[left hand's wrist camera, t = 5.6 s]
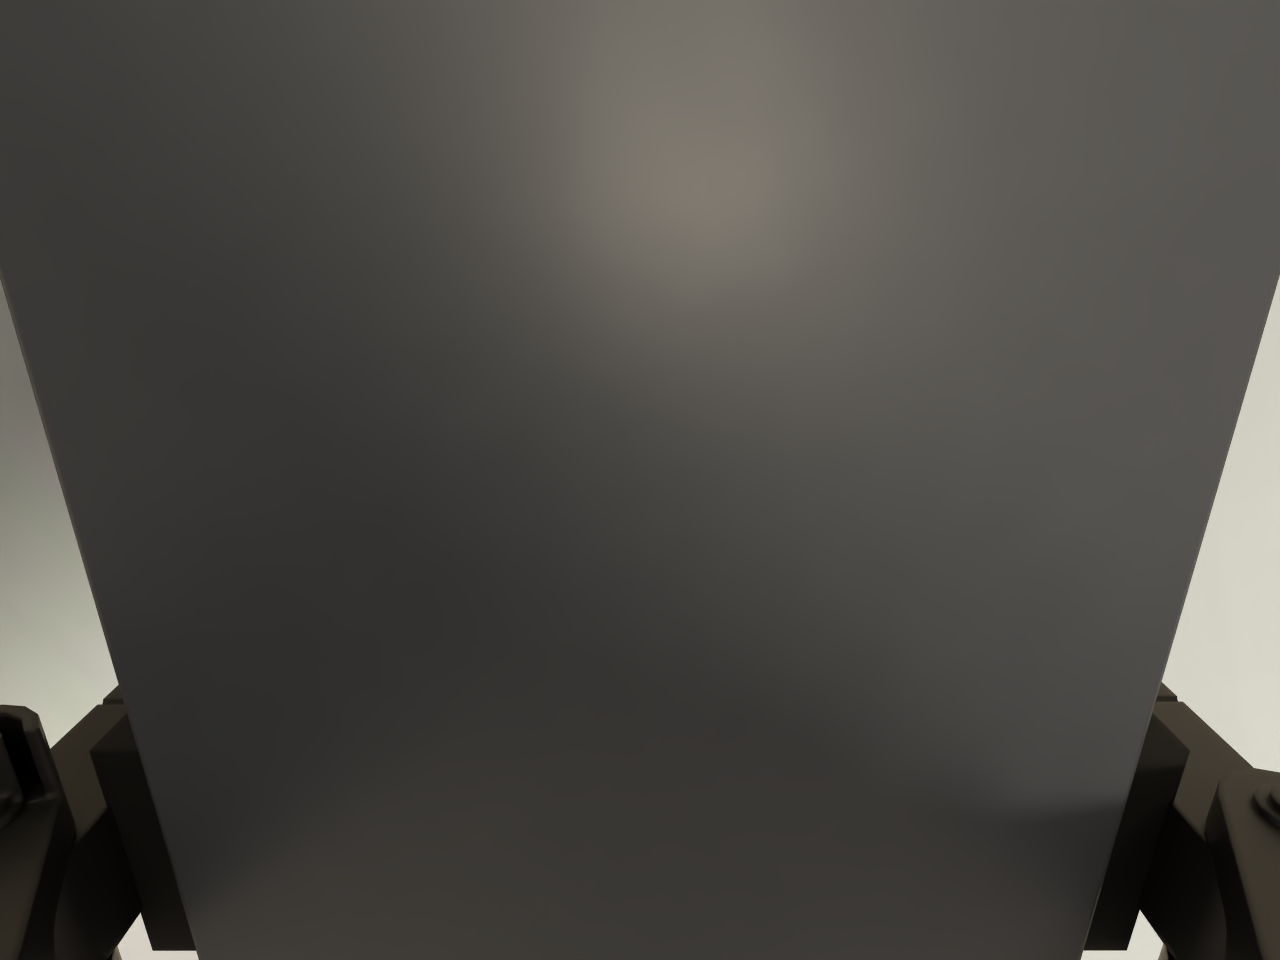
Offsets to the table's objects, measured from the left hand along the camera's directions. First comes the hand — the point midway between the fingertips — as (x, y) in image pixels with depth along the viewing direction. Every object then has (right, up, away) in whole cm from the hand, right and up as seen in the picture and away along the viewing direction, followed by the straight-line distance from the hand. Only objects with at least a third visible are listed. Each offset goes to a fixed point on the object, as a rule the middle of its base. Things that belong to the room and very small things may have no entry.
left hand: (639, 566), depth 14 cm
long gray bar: (0, +26, -9) cm, 28 cm away
